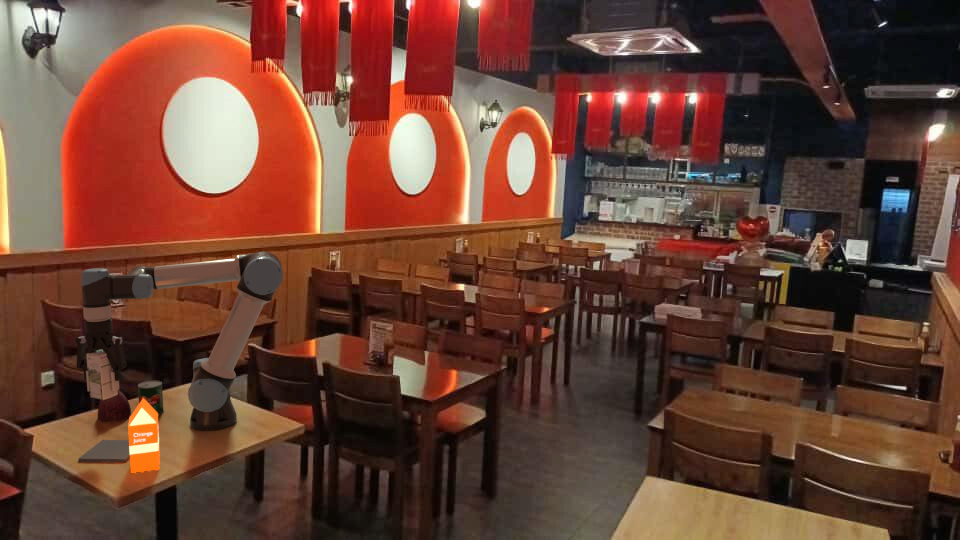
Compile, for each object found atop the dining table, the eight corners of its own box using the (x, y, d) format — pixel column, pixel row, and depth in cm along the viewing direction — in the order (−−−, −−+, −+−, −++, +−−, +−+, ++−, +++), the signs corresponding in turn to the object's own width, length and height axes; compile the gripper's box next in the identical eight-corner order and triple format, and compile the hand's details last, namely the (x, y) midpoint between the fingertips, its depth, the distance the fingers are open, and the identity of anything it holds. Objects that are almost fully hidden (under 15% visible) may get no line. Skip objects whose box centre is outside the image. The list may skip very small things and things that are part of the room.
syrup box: (118, 394, 216) (115, 350, 213) (102, 400, 210) (98, 355, 208) (105, 392, 218) (102, 348, 215) (88, 398, 212) (85, 353, 210)
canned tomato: (159, 407, 251) (158, 379, 249) (166, 413, 245) (165, 384, 244) (136, 412, 246) (134, 383, 244) (143, 419, 240) (141, 389, 238)
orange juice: (130, 474, 199) (126, 408, 196) (132, 461, 207) (128, 398, 204) (160, 469, 202) (156, 405, 199) (160, 457, 210) (157, 395, 207)
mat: (146, 443, 220) (146, 440, 220) (125, 462, 206) (125, 459, 206) (102, 442, 220) (102, 439, 220) (78, 461, 206) (78, 458, 206)
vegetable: (118, 431, 236) (112, 396, 230) (92, 425, 238) (85, 389, 232) (138, 414, 246) (133, 379, 240) (113, 407, 248) (108, 373, 241)
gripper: (136, 316, 214) (141, 386, 217) (73, 315, 214) (79, 385, 217) (123, 322, 206) (128, 395, 210) (58, 321, 206) (64, 393, 210)
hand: (103, 390), depth 214 cm, fingers closed on syrup box, 7 cm apart
